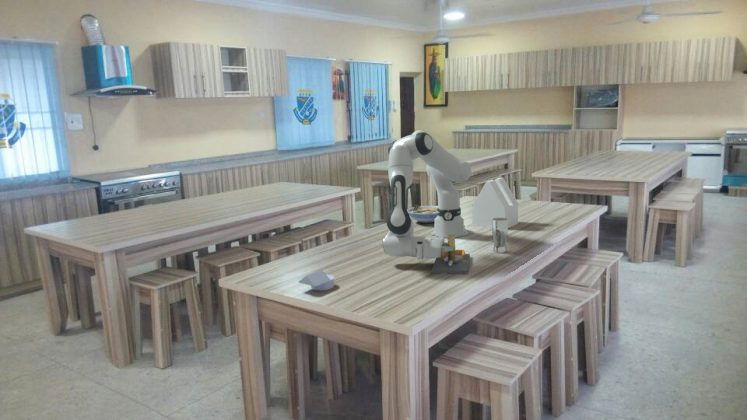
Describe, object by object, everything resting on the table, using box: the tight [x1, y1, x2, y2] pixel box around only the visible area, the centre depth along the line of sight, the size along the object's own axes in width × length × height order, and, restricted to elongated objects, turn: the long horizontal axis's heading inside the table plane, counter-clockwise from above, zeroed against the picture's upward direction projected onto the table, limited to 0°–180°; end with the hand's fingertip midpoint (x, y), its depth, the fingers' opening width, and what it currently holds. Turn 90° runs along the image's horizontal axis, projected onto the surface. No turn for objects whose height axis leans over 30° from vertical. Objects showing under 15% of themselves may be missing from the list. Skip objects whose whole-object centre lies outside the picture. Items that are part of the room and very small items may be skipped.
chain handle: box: [444, 235, 459, 267], centre depth 225 cm, size 12×6×11 cm, turn 168°
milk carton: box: [471, 177, 519, 229], centre depth 297 cm, size 19×15×25 cm
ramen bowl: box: [406, 203, 438, 224], centre depth 312 cm, size 25×23×8 cm
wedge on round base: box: [298, 269, 335, 291], centre depth 208 cm, size 9×7×13 cm
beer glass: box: [491, 217, 509, 254], centre depth 245 cm, size 7×7×15 cm
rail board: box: [431, 249, 471, 275], centre depth 230 cm, size 24×14×4 cm, turn 168°
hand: (453, 247), depth 228 cm, fingers closed on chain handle, 3 cm apart
